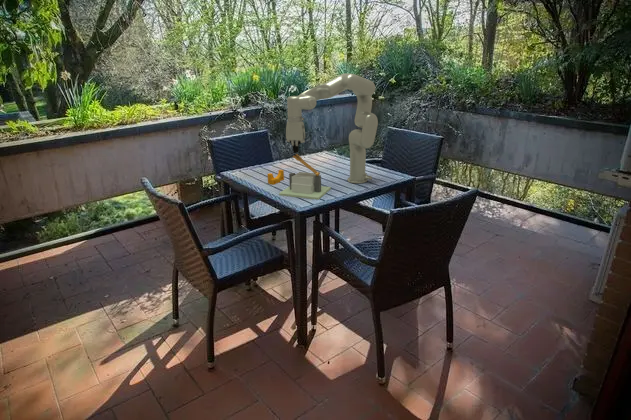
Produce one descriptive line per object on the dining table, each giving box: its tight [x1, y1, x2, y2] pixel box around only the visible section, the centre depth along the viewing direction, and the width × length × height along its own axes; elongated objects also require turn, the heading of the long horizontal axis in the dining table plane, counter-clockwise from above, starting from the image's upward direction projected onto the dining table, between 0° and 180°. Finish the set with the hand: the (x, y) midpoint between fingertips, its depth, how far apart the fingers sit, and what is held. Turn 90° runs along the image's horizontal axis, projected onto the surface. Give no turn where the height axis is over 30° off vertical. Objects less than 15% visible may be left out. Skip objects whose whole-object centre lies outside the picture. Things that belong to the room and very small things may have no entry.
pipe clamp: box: [267, 169, 285, 185], centre depth 262 cm, size 12×4×6 cm, turn 142°
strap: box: [292, 153, 321, 176], centre depth 236 cm, size 18×5×1 cm
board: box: [278, 171, 332, 200], centre depth 241 cm, size 24×20×10 cm
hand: (295, 152), depth 236 cm, fingers closed
